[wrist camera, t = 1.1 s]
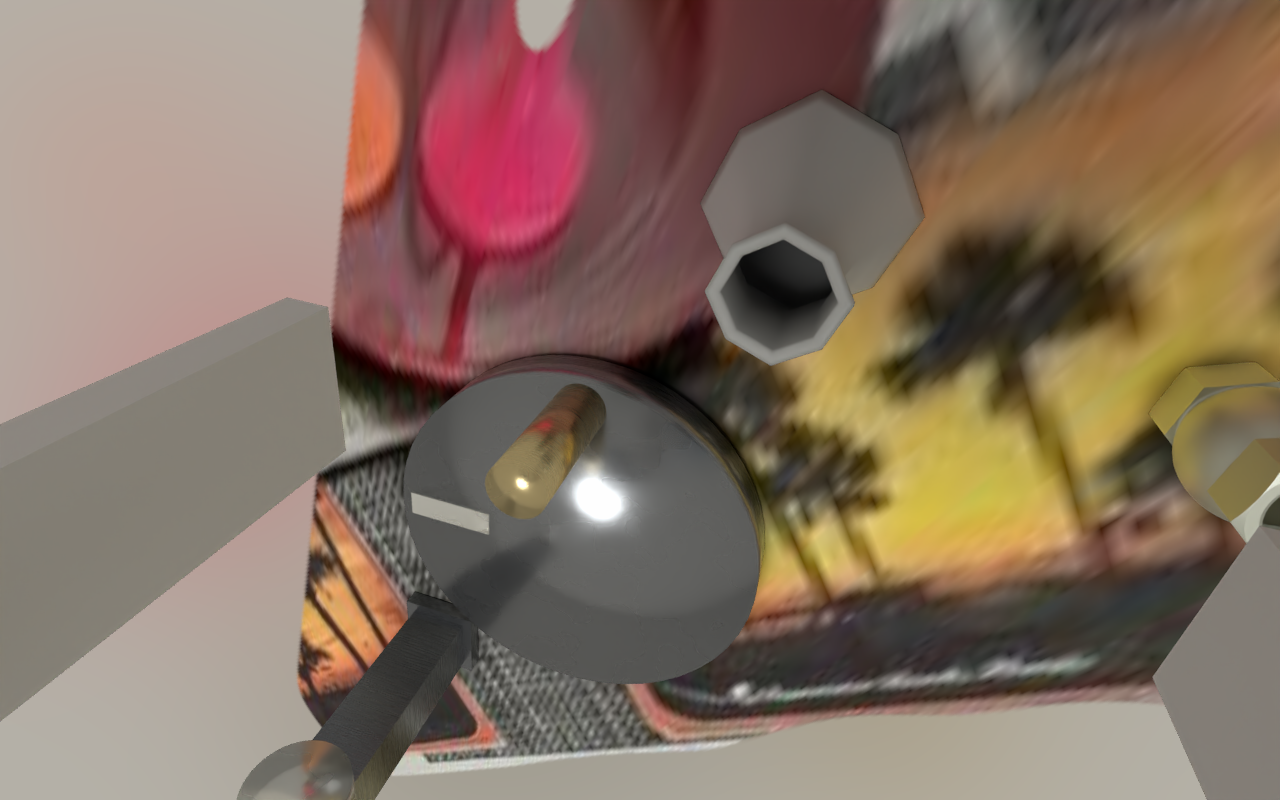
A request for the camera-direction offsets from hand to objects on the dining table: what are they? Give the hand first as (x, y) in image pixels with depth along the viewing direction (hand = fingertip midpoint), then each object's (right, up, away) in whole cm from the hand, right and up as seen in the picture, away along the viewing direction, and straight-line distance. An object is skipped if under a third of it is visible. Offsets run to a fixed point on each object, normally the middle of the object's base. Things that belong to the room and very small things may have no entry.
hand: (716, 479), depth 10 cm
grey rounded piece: (-4, -4, +23) cm, 24 cm away
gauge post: (-12, -12, +30) cm, 35 cm away
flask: (+5, +8, +14) cm, 17 cm away
